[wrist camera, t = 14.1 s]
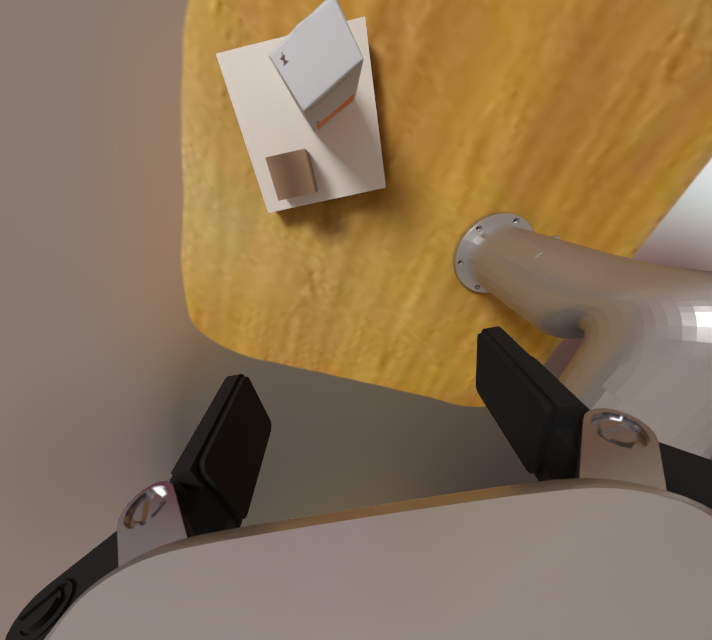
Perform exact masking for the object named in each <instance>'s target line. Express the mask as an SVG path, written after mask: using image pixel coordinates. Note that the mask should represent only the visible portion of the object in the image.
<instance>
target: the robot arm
mask: <svg viewBox="0 0 712 640" xmlns="http://www.w3.org/2000/svg"><path fill="white" fill-rule="evenodd" d="M477 227H478V228H477ZM476 228H477V229H476ZM459 261H460V262H459ZM458 262H459V263H458ZM454 269H455V273H456V275H457V277H458V279H459V280H460V282H461V283H462V284H464V285H465V286H466V287H467V288H469V289H470V290H473V291H475V292H480V293H491V294H492V295H494V296H495V297H496V298H497V299H499V300H500V301H501V302H503V303H504V304H505V305H506V306H508V307H509V308H510V309H512V310H513V311H514V312H515V313H517V314H518V315H519V316H521V317H522V318H523V319H524V320H526V321H527V322H528V323H529V324H531V325H532V326H533V327H535V328H536V329H538V330H539V331H541V332H543V333H545V334H548V335H551V336H555V337H559V338H572V339H576V338H583V340H582V342H581V344H580V345H579V347H578V349H577V350H576V352H575V353H574V356H573V358H572V359H571V361H570V362H569V364H568V365H567V367H566V368H565V370H564V371H563V373H562V374H561V376H560V377H559V379H557V378H556V377H554V376H553V375H552V374H551V373H550V372H549V371H548V370H547V369H546V368H545V367H544V366H543V365H542V364H541V363H540V362H539V361H537V360H536V359H535V358H534V357H532V356H530V355H529V354H528V353H527V352H526V351H525V350H524V349H523V348H522V347H521V346H519V345H518V344H517V343H516V342H515V341H514V340H513V339H512V338H511V337H510V336H509V335H508V334H507V333H506V332H505V331H504V330H503V329H502V328H500V327H498V326H497V327H492V328H486V329H483V330H482V333H480V334H478V337H477V365H476V389H477V392H478V394H479V395H480V397H481V399H482V400H483V402H484V403H485V405H486V406H487V408H488V410H489V411H490V413H491V414H492V416H493V417H494V419H495V421H496V422H497V424H498V425H499V427H500V428H501V430H502V432H503V433H504V435H505V437H506V438H507V440H508V441H509V443H510V445H511V446H512V448H513V449H514V451H515V452H516V454H517V456H518V457H519V459H520V460H521V462H522V464H523V465H524V467H525V468H526V470H527V471H528V472H529V473H534V474H535V476H536V477H537V479H538V480H539V482H532V483H524V484H517V485H510V486H502V487H494V488H488V489H481V490H474V491H468V492H461V493H454V494H448V495H442V496H435V497H428V498H421V499H414V500H408V501H402V502H395V503H389V504H382V505H376V506H370V507H364V508H357V509H350V510H345V511H338V512H331V513H325V514H319V515H312V516H306V517H300V518H294V519H288V520H281V521H276V522H269V523H263V524H257V525H251V526H245V527H240V526H241V522H242V519H244V518H246V516H247V514H248V511H249V507H250V503H251V500H252V496H253V493H254V489H255V485H256V482H257V478H258V475H259V471H260V467H261V464H262V460H263V457H264V453H265V450H266V446H267V443H268V439H269V436H270V432H271V421H270V419H269V417H268V415H267V413H266V411H265V409H264V407H263V405H262V403H261V401H260V399H259V397H258V395H257V393H256V391H255V389H254V387H253V385H252V383H251V381H250V379H249V378H248V377H245V376H244V375H243V374H239V375H234V376H228V377H226V379H225V380H224V382H223V384H222V385H221V387H220V389H219V391H218V392H217V394H216V396H215V398H214V399H213V401H212V403H211V405H210V406H209V408H208V410H207V411H206V413H205V415H204V417H203V418H202V420H201V422H200V424H199V425H198V427H197V429H196V431H195V432H194V434H193V436H192V437H191V439H190V441H189V443H188V444H187V446H186V448H185V450H184V451H183V453H182V455H181V456H180V458H179V460H178V462H177V463H176V465H175V467H174V469H173V470H172V472H171V474H172V475H173V476H172V477H171V479H170V481H169V482H168V481H160V482H157V483H154V484H152V485H150V486H148V487H147V488H145V489H143V490H142V491H141V492H140V493H138V494H137V495H136V496H135V497H134V498H133V499H132V500H131V501H130V502H129V503H128V504H127V506H126V507H125V509H124V510H123V511H122V513H121V515H120V518H119V520H118V524H117V531H116V532H115V533H114V534H112V535H111V536H110V537H108V538H107V539H106V540H105V541H103V542H102V543H101V544H100V545H98V546H97V547H96V548H94V549H93V550H92V551H91V552H89V553H88V554H87V555H86V556H85V557H83V558H82V559H81V560H79V561H78V562H77V563H75V564H74V565H73V566H72V567H70V568H69V569H68V570H66V571H65V572H64V573H63V574H62V575H60V576H59V577H58V578H57V579H55V580H54V581H53V582H51V583H50V584H49V585H48V586H46V587H45V588H44V589H43V590H42V591H41V592H39V593H38V594H37V595H36V596H35V597H34V598H33V599H32V600H31V601H30V603H28V605H27V606H26V607H25V608H24V609H23V610H22V612H21V613H20V614H19V616H18V617H17V619H16V620H15V621H14V623H13V625H12V626H11V628H10V630H9V632H8V634H7V636H6V639H5V640H712V271H704V270H697V269H689V268H682V267H673V266H666V265H661V264H655V263H649V262H644V261H639V260H634V259H630V258H625V257H621V256H617V255H613V254H609V253H606V252H602V251H599V250H595V249H592V248H588V247H585V246H581V245H578V244H574V243H571V242H567V241H564V240H560V237H559V236H558V235H556V236H551V237H550V236H546V235H543V234H539V233H536V232H534V230H533V228H532V226H531V225H530V224H529V222H528V221H527V220H525V219H524V218H522V217H521V216H518V215H515V214H511V213H496V214H491V215H488V216H486V217H483V218H482V219H480V220H478V221H477V222H475V223H474V224H473V225H472V226H471V227H469V228H468V230H467V231H466V232H465V233H464V234H463V236H462V237H461V239H460V241H459V242H458V245H457V247H456V250H455V254H454Z"/></svg>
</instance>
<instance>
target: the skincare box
mask: <svg viewBox="0 0 712 640" xmlns="http://www.w3.org/2000/svg"><path fill="white" fill-rule="evenodd" d="M269 58H270V60H271V61H272V63H273V64H274V66H275V68H276V70H277V71H278V73H279V75H280V77H281V78H282V80H283V82H284V84H285V85H286V87H287V89H288V91H289V92H290V94H291V96H292V97H293V99H294V101H295V103H296V104H297V106H298V108H299V109H300V111H301V113H302V114H303V116H304V118H305V119H306V121H307V122H308V124H309V125H310V127H311V129H312V130H313V132H314V133H316V132H317V131H318V130H319V129H320V128H321V127H322V126H323V125H325V124H326V123H327V122H328V121H329V120H330V119H332V118H333V117H334V116H335V115H336V114H338V113H339V112H340V111H341V110H343V109H344V108H345V107H346V106H348V105H349V104H350V103H351V102H353V101H354V100H355V96H356V92H357V87H358V83H359V78H360V73H361V69H362V64H363V60H364V59H363V56H362V54H361V52H360V49H359V47H358V45H357V43H356V41H355V38H354V36H353V34H352V32H351V30H350V27H349V25H348V23H347V21H346V18H345V16H344V14H343V12H342V10H341V8H340V6H339V3H338V1H337V0H325V1H324V2H323V3H322V4H321V5H320V6H319V7H318V8H317V9H315V10H314V11H313V12H312V13H311V14H310V15H309V16H308V17H307V18H305V19H304V20H303V21H301V22H300V23H299V24H298V25H297V26H296V27H295V28H294V30H293V31H292V32H291V33H290V34H289V35H288V36H287V37H286V38H285V39H284V40H283V41H282V42H281V43H280V44H279V45H278V46H277V47H276V48H275V49H274V50H273V51H272V52H270V53H269Z"/></svg>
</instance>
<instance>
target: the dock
mask: <svg viewBox="0 0 712 640" xmlns="http://www.w3.org/2000/svg"><path fill="white" fill-rule="evenodd" d="M347 23H348V25H349V27H350V30H351V32H352V34H353V36H354V38H355V41H356V43H357V45H358V47H359V49H360V52H361V54H362V56H363V59H364V60H363V64H362V69H361V73H360V78H359V83H358V87H357V92H356V96H355V100H354V101H353V102H351V103H350V104H349V105H348V106H346V107H345V108H344V109H343V110H341V111H340V112H339V113H338V114H336V115H335V116H334V117H333V118H332V119H330V120H329V121H328V122H327V123H326V124H325V125H323V126H322V127H321V128H320V129H319V130H318V131H317V132H316V133H314V132H313V130H312V129H311V127H310V125H309V124H308V122H307V121H306V119H305V118H304V116H303V114H302V113H301V111H300V109H299V108H298V106H297V104H296V103H295V101H294V99H293V97H292V96H291V94H290V92H289V91H288V89H287V87H286V85H285V84H284V82H283V80H282V78H281V77H280V75H279V73H278V71H277V70H276V68H275V66H274V64H273V63H272V61H271V60H270V58H269V53H270V52H272V51H273V50H274V49H275V48H276V47H277V46H278V45H279V44H280V43H281V42H282V41H283V40H284V39H285V38H286V37H287V36H285V37H281V38H277V39H273V40H269V41H265V42H261V43H257V44H253V45H248V46H244V47H240V48H236V49H232V50H228V51H224V52H220V53H216V55H217V58H218V62H219V65H220V68H221V71H222V74H223V77H224V80H225V83H226V86H227V89H228V92H229V95H230V98H231V101H232V104H233V107H234V110H235V113H236V116H237V119H238V122H239V125H240V128H241V131H242V134H243V138H244V141H245V144H246V147H247V150H248V153H249V156H250V159H251V162H252V165H253V168H254V171H255V174H256V177H257V180H258V183H259V186H260V189H261V192H262V195H263V198H264V201H265V204H266V207H267V210H268V213H271V212H275V211H280V210H285V209H289V208H294V207H298V206H303V205H308V204H312V203H317V202H322V201H326V200H331V199H336V198H340V197H345V196H349V195H354V194H359V193H363V192H368V191H373V190H377V189H382V188H386V184H385V176H384V168H383V160H382V152H381V144H380V135H379V127H378V119H377V111H376V103H375V95H374V87H373V79H372V71H371V62H370V54H369V46H368V38H367V30H366V22H365V17H361V18H357V19H353V20H349V21H347ZM300 149H306V150H307V151H308V152H309V155H310V159H311V163H312V167H313V172H314V176H315V180H316V184H317V189H318V191H317V192H316V193H312V194H308V195H303V196H298V197H294V198H289V199H285V200H280V201H278V198H277V194H276V191H275V188H274V185H273V181H272V178H271V175H270V172H269V168H268V165H267V162H266V158H265V157H269V156H274V155H278V154H283V153H287V152H291V151H296V150H300Z"/></svg>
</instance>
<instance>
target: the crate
mask: <svg viewBox="0 0 712 640" xmlns="http://www.w3.org/2000/svg"><path fill="white" fill-rule="evenodd" d="M265 158H266V162H267V165H268V168H269V172H270V175H271V178H272V181H273V185H274V188H275V191H276V194H277V198H278V201H280V200H285V199H289V198H294V197H298V196H303V195H308V194H312V193H316V192H317V191H318V189H317V184H316V180H315V176H314V172H313V167H312V163H311V159H310V155H309V152H308V151H307V150H306V149H300V150H296V151H291V152H287V153H283V154H278V155H274V156H269V157H265Z"/></svg>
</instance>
